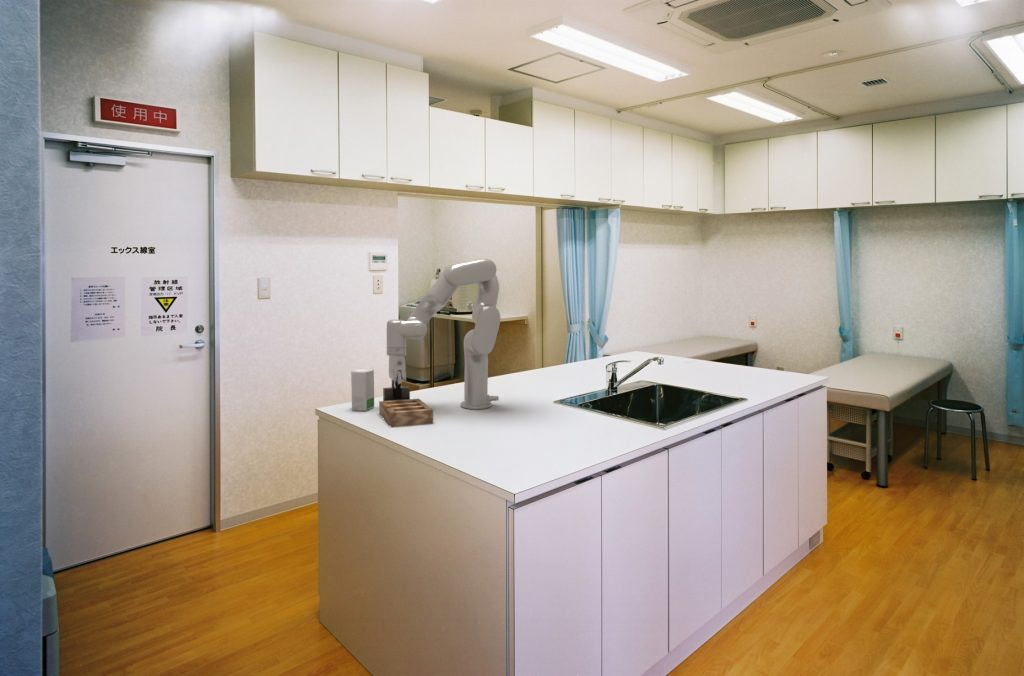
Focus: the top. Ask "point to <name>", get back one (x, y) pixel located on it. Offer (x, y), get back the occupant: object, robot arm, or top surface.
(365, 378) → the skincare box
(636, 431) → the top surface
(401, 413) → the rack
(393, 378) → the robot arm
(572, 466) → the top surface
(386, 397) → the panel
